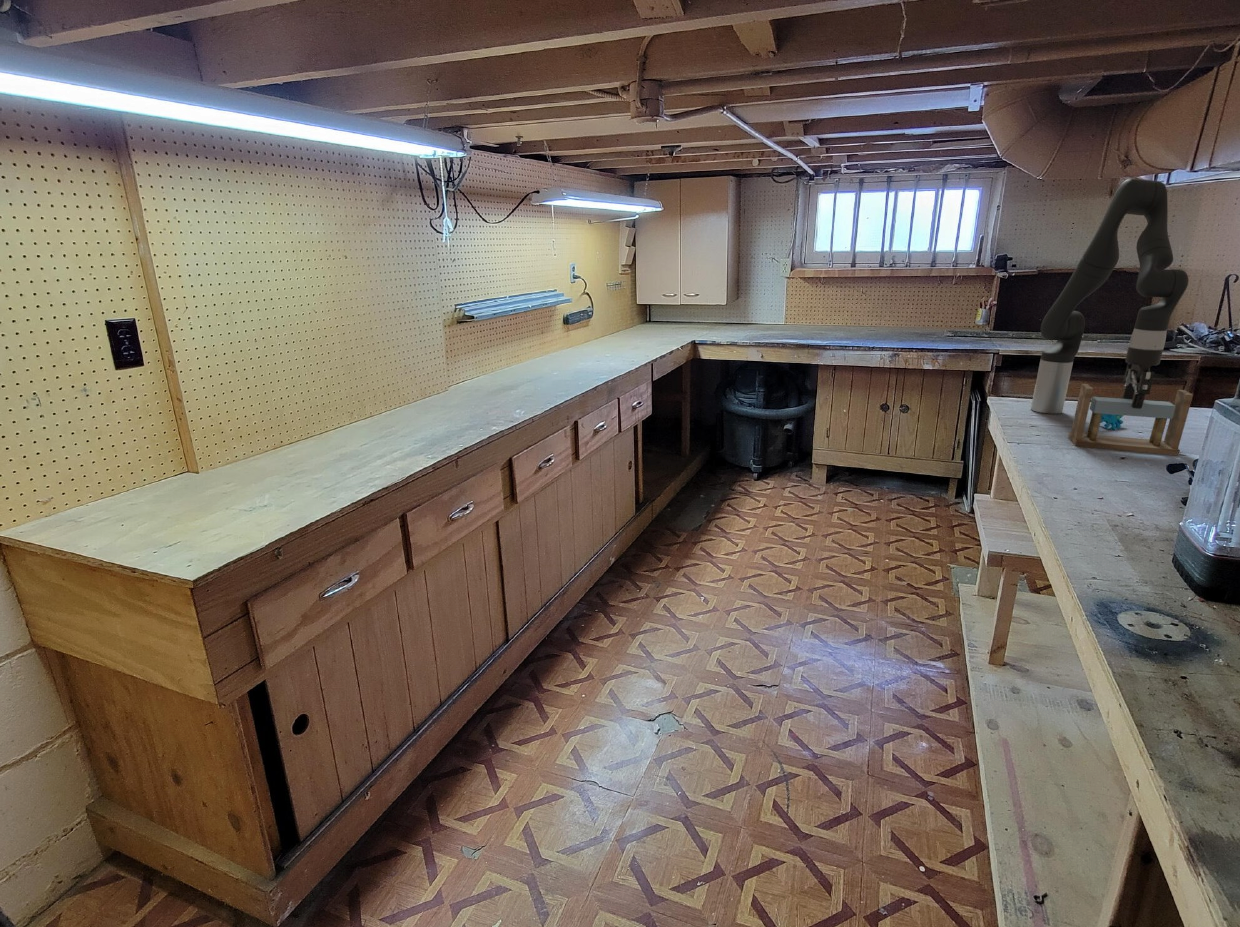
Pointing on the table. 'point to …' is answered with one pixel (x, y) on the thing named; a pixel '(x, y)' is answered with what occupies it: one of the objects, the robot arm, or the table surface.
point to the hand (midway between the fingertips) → (1131, 404)
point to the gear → (1112, 421)
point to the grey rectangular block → (1125, 408)
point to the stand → (1130, 444)
